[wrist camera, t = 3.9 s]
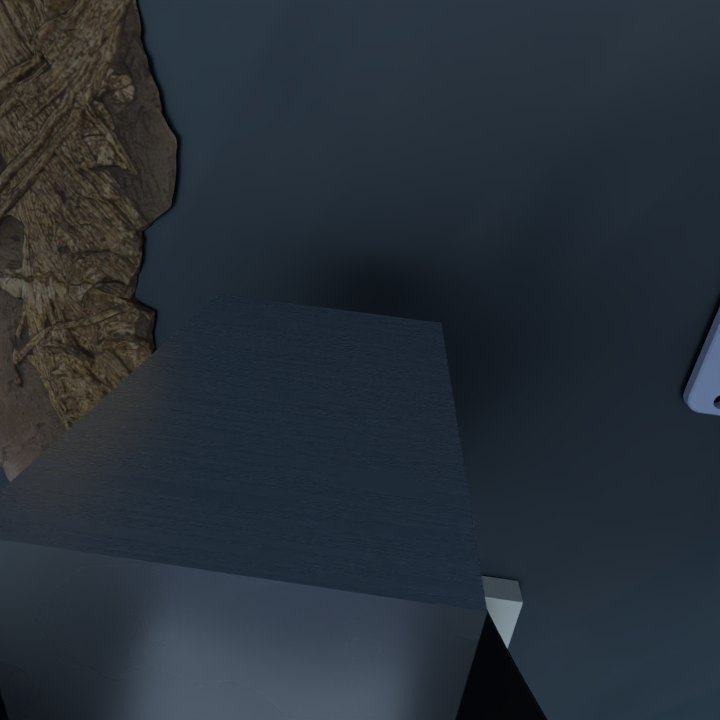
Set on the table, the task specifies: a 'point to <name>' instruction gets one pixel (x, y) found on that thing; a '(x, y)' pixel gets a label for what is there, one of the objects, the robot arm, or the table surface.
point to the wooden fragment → (73, 211)
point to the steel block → (250, 532)
